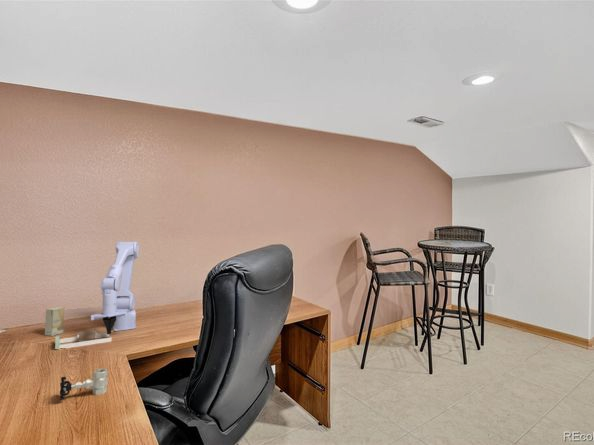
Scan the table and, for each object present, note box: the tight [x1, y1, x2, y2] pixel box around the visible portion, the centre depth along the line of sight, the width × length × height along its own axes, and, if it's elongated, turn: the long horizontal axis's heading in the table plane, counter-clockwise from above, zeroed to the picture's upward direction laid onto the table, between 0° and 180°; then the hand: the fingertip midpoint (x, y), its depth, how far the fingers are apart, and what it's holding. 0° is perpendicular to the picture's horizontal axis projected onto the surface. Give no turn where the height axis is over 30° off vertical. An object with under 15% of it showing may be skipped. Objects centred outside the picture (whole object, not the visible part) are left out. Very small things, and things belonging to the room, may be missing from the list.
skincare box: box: [44, 306, 65, 337], centre depth 160 cm, size 6×4×12 cm
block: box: [78, 329, 96, 342], centre depth 150 cm, size 6×5×4 cm
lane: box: [54, 330, 113, 350], centre depth 151 cm, size 20×15×3 cm
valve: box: [59, 368, 109, 401], centre depth 102 cm, size 7×7×12 cm
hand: (108, 333), depth 155 cm, fingers closed
